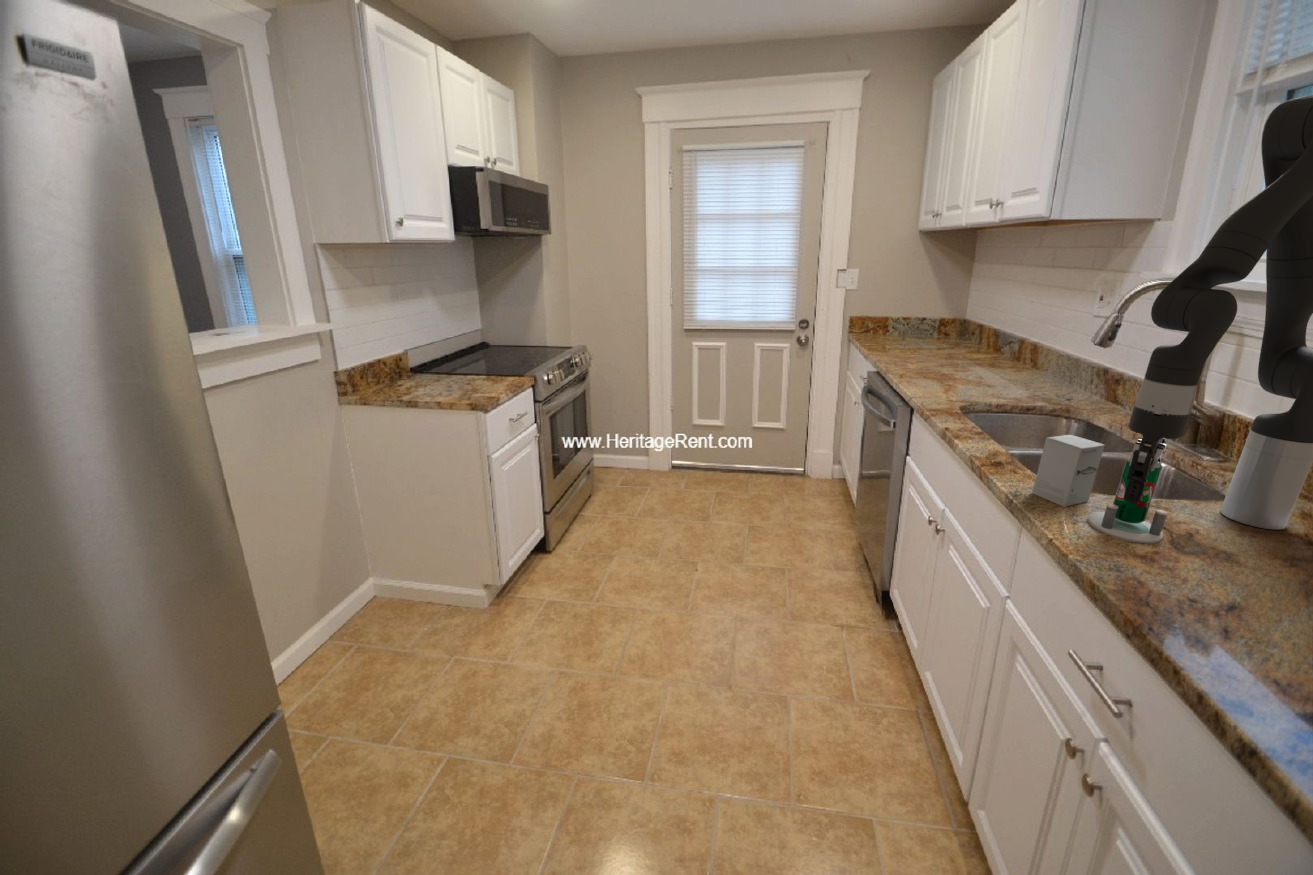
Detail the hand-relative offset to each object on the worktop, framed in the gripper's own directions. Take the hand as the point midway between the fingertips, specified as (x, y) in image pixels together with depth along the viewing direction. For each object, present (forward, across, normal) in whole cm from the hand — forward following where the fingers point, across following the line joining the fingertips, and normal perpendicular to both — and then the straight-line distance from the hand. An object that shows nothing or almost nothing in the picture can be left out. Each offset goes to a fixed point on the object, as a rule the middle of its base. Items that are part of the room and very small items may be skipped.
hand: (1134, 496), depth 107 cm
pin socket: (+6, 0, 0) cm, 6 cm away
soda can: (+5, 0, 0) cm, 5 cm away
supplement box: (+7, -7, -12) cm, 15 cm away
